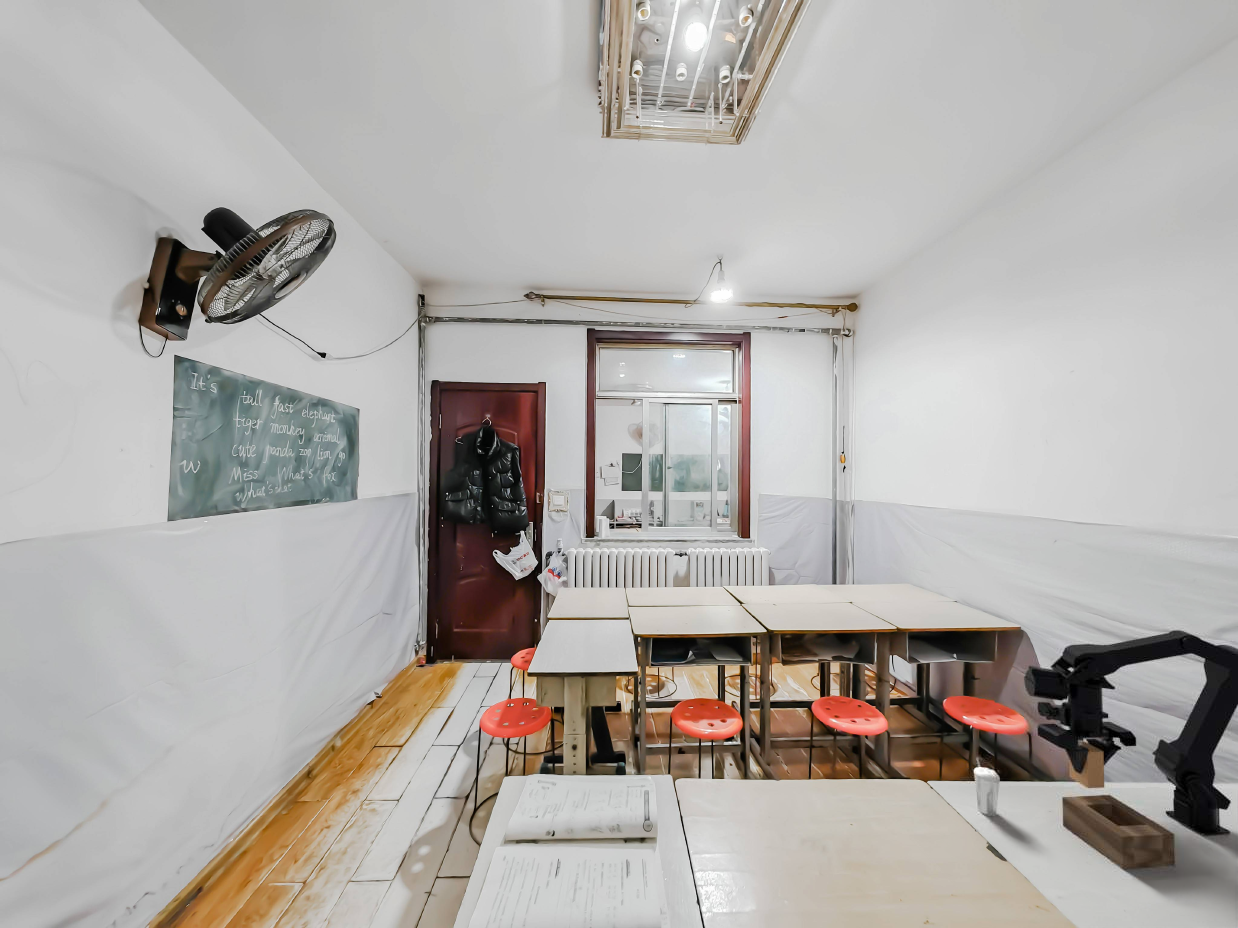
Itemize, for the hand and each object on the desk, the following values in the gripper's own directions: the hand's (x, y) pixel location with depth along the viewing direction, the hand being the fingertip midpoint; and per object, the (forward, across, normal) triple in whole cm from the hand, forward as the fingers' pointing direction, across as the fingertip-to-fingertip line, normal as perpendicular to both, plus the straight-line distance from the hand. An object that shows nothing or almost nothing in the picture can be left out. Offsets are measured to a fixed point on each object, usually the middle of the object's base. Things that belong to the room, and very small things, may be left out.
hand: (1086, 771), depth 107 cm
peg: (+2, 0, 0) cm, 2 cm away
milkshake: (+7, +26, +1) cm, 27 cm away
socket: (+7, +8, +12) cm, 16 cm away
